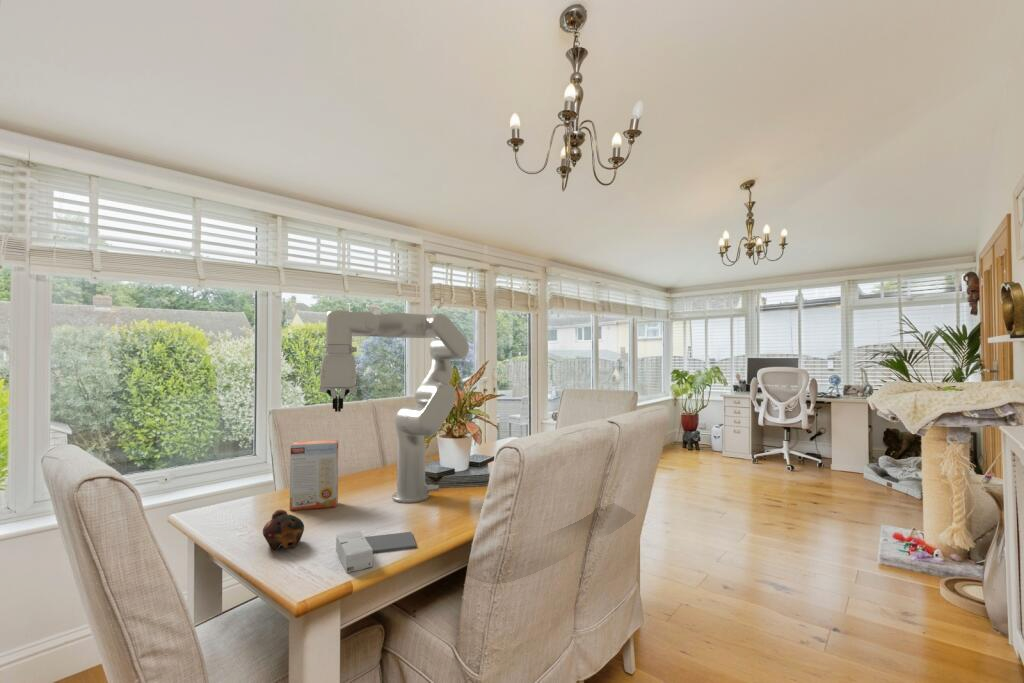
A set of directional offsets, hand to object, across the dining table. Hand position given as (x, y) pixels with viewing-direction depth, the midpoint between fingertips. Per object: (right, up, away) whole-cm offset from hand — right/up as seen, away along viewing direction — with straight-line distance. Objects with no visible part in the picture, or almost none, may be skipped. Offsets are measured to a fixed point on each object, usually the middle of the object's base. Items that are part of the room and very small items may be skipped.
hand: (337, 411), depth 144 cm
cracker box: (-11, -33, +10) cm, 36 cm away
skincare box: (+12, -29, -26) cm, 40 cm away
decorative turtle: (-6, -32, -22) cm, 39 cm away
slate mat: (+20, -32, -21) cm, 43 cm away
